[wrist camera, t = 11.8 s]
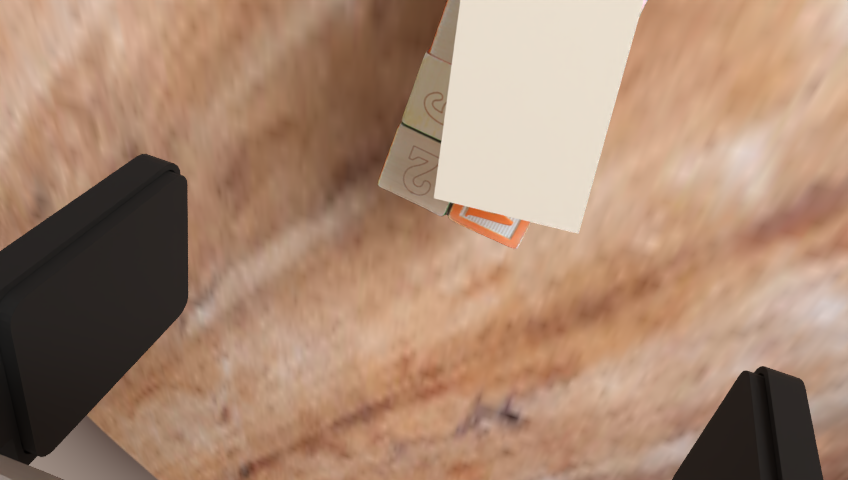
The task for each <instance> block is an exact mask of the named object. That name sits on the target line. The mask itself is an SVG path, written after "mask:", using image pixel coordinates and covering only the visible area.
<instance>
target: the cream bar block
mask: <svg viewBox="0 0 848 480" xmlns="http://www.w3.org/2000/svg"><path fill="white" fill-rule="evenodd" d="M643 1H644V0H460V7H459V14H458V21H457V29H456V36H455V44H454V51H453V59H452V66H451V74H450V81H449V89H448V96H447V103H446V111H445V118H444V126H443V133H442V141H441V148H440V156H439V163H438V170H437V178H436V185H435V193H434V198H435V199H439V200H443V201H447V202H451V203H455V204H459V205H463V206H467V207H471V208H476V209H480V210H484V211H488V212H492V213H496V214H500V215H504V216H508V217H512V218H516V219H520V220H525V221H529V222H533V223H537V224H541V225H545V226H549V227H553V228H557V229H561V230H565V231H570V232H574V233H578V234H579V230H580V227H581V223H582V220H583V216H584V212H585V209H586V205H587V202H588V198H589V194H590V191H591V187H592V184H593V180H594V177H595V173H596V169H597V166H598V162H599V159H600V155H601V151H602V148H603V144H604V141H605V137H606V134H607V130H608V126H609V123H610V119H611V116H612V112H613V109H614V105H615V101H616V98H617V94H618V91H619V87H620V83H621V80H622V76H623V73H624V69H625V66H626V62H627V58H628V55H629V51H630V48H631V44H632V40H633V37H634V33H635V30H636V26H637V23H638V19H639V15H640V12H641V8H642V5H643Z"/></svg>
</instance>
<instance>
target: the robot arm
mask: <svg viewBox="0 0 848 480" xmlns="http://www.w3.org/2000/svg"><path fill="white" fill-rule="evenodd" d="M187 299H188V208H187V180H186V178H185V177H184V176H182V175H180V170H179V168H178V166H177V165H175V164H174V163H171V162H168V161H165V160H162V159H159V158H156V157H153V156H150V155H147V154H141V155H139V156H137V157H135V158H134V159H133V160H131V161H130V162H128V163H127V164H125V165H124V166H122V167H121V168H120V169H118V170H117V171H115V172H114V173H112V174H111V175H109V176H108V177H107V178H105V179H104V180H102V181H101V182H99V183H98V184H96V185H95V186H94V187H92V188H91V189H89V190H88V191H86V192H85V193H83V194H82V195H81V196H79V197H78V198H76V199H75V200H73V201H72V202H70V203H69V204H68V205H66V206H65V207H63V208H62V209H60V210H59V211H57V212H56V213H55V214H53V215H52V216H50V217H49V218H47V219H46V220H44V221H43V222H42V223H40V224H39V225H37V226H36V227H34V228H33V229H31V230H30V231H29V232H27V233H26V234H24V235H23V236H21V237H20V238H18V239H17V240H16V241H14V242H13V243H11V244H10V245H8V246H7V247H6V248H4V249H3V250H1V251H0V480H63V479H61V478H58V477H56V476H53V475H51V474H49V473H46V472H44V471H41V470H39V469H36V468H33V467H31V466H28V465H29V464H30V463H31V462H32V461H33V460H34V459H35V458H36V457H37V456H40V457H43V456H46V455H48V454H50V453H51V452H52V451H53V450H54V449H55V448H56V447H57V446H58V445H59V444H60V443H61V442H62V441H63V439H64V438H65V437H66V436H67V435H68V434H69V433H70V432H71V431H72V430H73V429H74V428H75V427H76V426H77V425H78V423H79V422H80V421H81V420H82V419H83V418H84V417H85V416H86V415H87V414H88V413H89V412H90V411H91V410H92V409H93V408H94V406H95V405H96V404H97V403H98V402H99V401H100V400H101V399H102V398H103V397H104V396H105V395H106V394H107V393H108V392H109V390H110V389H111V388H112V387H113V386H114V385H115V384H116V383H117V382H118V381H119V380H120V379H121V378H122V377H123V376H124V374H125V373H126V372H127V371H128V370H129V369H130V368H131V367H132V366H133V365H134V364H135V363H136V362H137V361H138V360H139V358H140V357H141V356H142V355H143V354H144V353H145V352H146V351H147V350H148V349H149V348H150V347H151V346H152V345H153V344H154V342H155V341H156V340H157V339H158V338H159V337H160V336H161V335H162V334H163V333H164V332H165V331H166V330H167V329H168V328H169V327H170V325H171V324H172V323H173V322H174V321H175V320H176V319H177V318H178V317H179V316H180V314H181V313H182V312H183V310H184V308H185V306H186V303H187ZM672 480H823V476H822V471H821V466H820V460H819V455H818V450H817V445H816V440H815V435H814V430H813V425H812V420H811V415H810V409H809V404H808V399H807V394H806V389H805V385H804V382H803V381H802V380H801V379H799V378H796V377H794V376H791V375H788V374H785V373H782V372H779V371H776V370H773V369H770V368H767V367H764V366H762V367H759V368H758V369H757V370H756V371H755V372H754V373H752V372H749V371H743V372H742V373H741V374H740V375H739V377H738V378H737V380H736V381H735V383H734V384H733V386H732V388H731V389H730V391H729V392H728V394H727V395H726V397H725V398H724V400H723V401H722V403H721V404H720V406H719V408H718V409H717V411H716V412H715V414H714V415H713V417H712V418H711V420H710V421H709V423H708V424H707V426H706V427H705V429H704V431H703V432H702V434H701V435H700V437H699V438H698V440H697V441H696V443H695V444H694V446H693V447H692V449H691V451H690V452H689V454H688V455H687V457H686V458H685V460H684V461H683V463H682V464H681V466H680V467H679V469H678V471H677V472H676V474H675V475H674V477H673V479H672Z"/></svg>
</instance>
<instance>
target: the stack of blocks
mask: <svg viewBox="0 0 848 480" xmlns="http://www.w3.org/2000/svg"><path fill="white" fill-rule="evenodd" d="M647 1H648V0H644V1H643V5H642V8H641V12H640V15H641V13H642V11H643V9H644V7H645V5H646V3H647ZM459 7H460V0H447V2H446V5H445V8H444V11H443V14H442V17H441V20H440V23H439V25H438V28H437V31H436V34H435V37H434V39H433V42H432V45H431V47H430V48H429V49H428V50H427V51H426V53H425V55H424V58H423V61H422V63H421V66H420V69H419V72H418V75H417V78H416V80H415V83H414V86H413V89H412V92H411V95H410V98H409V100H408V103H407V106H406V108H405V111H404V114H403V117H402V122H401V123H400V125H399V126H398V128H397V131H396V133H395V136H394V139H393V142H392V144H391V147H390V150H389V152H388V155H387V158H386V160H385V163H384V166H383V169H382V171H381V174H380V177H379V180H378V185H379V186H380V187H381V188H383V189H385V190H387V191H390V192H392V193H394V194H396V195H398V196H400V197H402V198H404V199H406V200H409V201H411V202H413V203H415V204H417V205H419V206H421V207H423V208H425V209H427V210H429V211H431V212H433V213H435V214H437V215H439V216H444V215H446V214H447V215H448V218H449V219H451V220H452V221H454V222H456V223H457V224H459V225H462V226H464V227H466V228H468V229H471V230H473V231H475V232H477V233H479V234H481V235H484V236H486V237H488V238H490V239H493V240H495V241H497V242H499V243H501V244H504V245H506V246H508V247H511V248H514V249H517V248H518V246H519V244H520V242H521V241H522V239H523V237H524V235H525V233H526V231H527V229H528V227H529V225H530V223H531V222H529V221H525V220H520V219H516V218H512V217H508V216H504V215H500V214H496V213H492V212H488V211H484V210H480V209H476V208H471V207H467V206H463V205H459V204H455V203H451V202H447V201H443V200H439V199H435V198H434V193H435V185H436V178H437V170H438V163H439V156H440V148H441V141H442V133H443V126H444V118H445V111H446V103H447V96H448V89H449V81H450V74H451V66H452V59H453V51H454V44H455V36H456V29H457V21H458V14H459ZM640 15H639V17H640Z"/></svg>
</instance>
